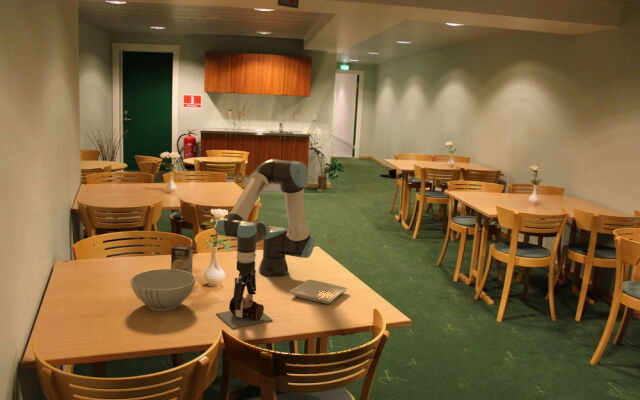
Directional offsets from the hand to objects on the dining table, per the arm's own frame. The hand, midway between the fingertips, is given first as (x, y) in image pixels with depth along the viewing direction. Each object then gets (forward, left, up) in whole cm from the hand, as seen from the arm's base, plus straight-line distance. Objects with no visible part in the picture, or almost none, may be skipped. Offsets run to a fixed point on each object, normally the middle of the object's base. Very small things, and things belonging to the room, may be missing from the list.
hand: (244, 312), depth 233 cm
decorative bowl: (+25, -27, -2) cm, 37 cm away
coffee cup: (-4, +6, +2) cm, 8 cm away
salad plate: (-43, -8, -3) cm, 44 cm away
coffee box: (+6, -56, -2) cm, 56 cm away
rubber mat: (0, 0, -2) cm, 2 cm away
